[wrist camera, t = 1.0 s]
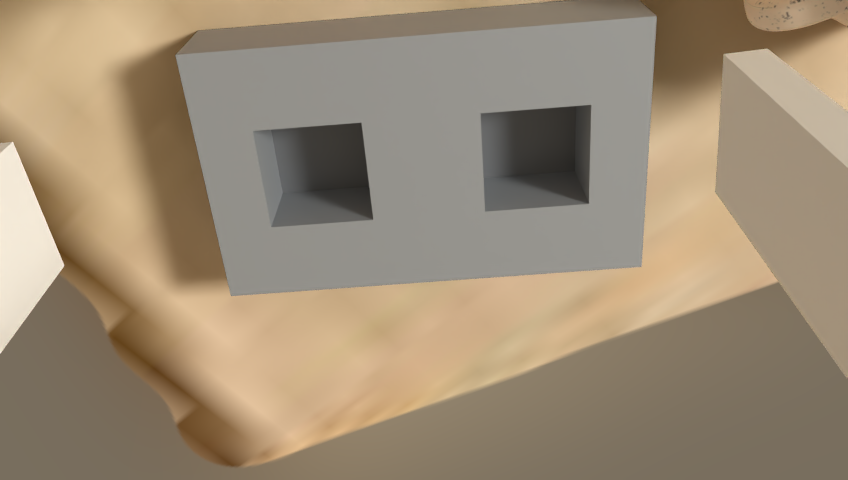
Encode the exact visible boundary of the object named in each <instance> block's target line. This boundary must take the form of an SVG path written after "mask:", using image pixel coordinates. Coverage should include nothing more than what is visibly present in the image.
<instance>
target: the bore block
mask: <svg viewBox="0 0 848 480" xmlns="http://www.w3.org/2000/svg"><path fill="white" fill-rule="evenodd" d="M656 22H657V16H656V15H655V14H654V13H653V12H652V11H651V10H650V9H648V8H647V7H646V6H645V5H644V4H643V3H642V2H641V1H640V0H568V1H556V2H543V3H531V4H519V5H506V6H494V7H482V8H470V9H457V10H445V11H433V12H420V13H408V14H396V15H384V16H371V17H359V18H347V19H334V20H322V21H310V22H298V23H285V24H273V25H261V26H248V27H236V28H224V29H212V30H199V31H197V32H196V33H195V34H194V35H193V37H192V38H191V39H190V40H189V41H188V42H187V43H186V44H185V45H184V46H183V47H182V48H181V49H180V50H179V51H178V53H177V54H176V55H175V56H176V60H177V65H178V69H179V73H180V78H181V82H182V86H183V91H184V95H185V99H186V103H187V108H188V112H189V116H190V121H191V125H192V129H193V134H194V138H195V142H196V147H197V151H198V155H199V160H200V164H201V168H202V173H203V177H204V181H205V186H206V190H207V194H208V199H209V203H210V207H211V212H212V216H213V220H214V225H215V229H216V233H217V238H218V242H219V246H220V251H221V255H222V259H223V264H224V268H225V272H226V277H227V281H228V285H229V289H230V294H231V296H239V295H253V294H267V293H281V292H295V291H309V290H323V289H337V288H351V287H365V286H379V285H393V284H407V283H421V282H435V281H449V280H463V279H477V278H491V277H505V276H519V275H533V274H547V273H561V272H575V271H589V270H603V269H617V268H631V267H641V266H642V250H643V234H644V217H645V201H646V185H647V168H648V152H649V136H650V120H651V103H652V87H653V71H654V55H655V38H656Z"/></svg>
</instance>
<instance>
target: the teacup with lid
mask: <svg viewBox="0 0 848 480" xmlns="http://www.w3.org/2000/svg"><path fill="white" fill-rule="evenodd" d="M744 8H745V12H746V16H747V18H748V20H749V22H750V23H751V24H752V25H753V26H755V27H756V28H758V29H761V30H765V31H787V30H794V29H799V28H803V27H807V26H810V25H814V24H817V23H820V22H822V21H825V20H828V19H830V18H832V19H834V20H836V21H838V22H840V23H841V24H843V25H845V26H847V27H848V0H744Z"/></svg>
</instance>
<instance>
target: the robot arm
mask: <svg viewBox="0 0 848 480" xmlns="http://www.w3.org/2000/svg"><path fill="white" fill-rule="evenodd" d="M715 192H716V194H717V195H718V197H719V198H720V199H721V201H722V202H723V204H724V205H725V207H726V208H727V209H728V211H729V212H730V214H731V215H732V216H733V218H734V219H735V221H736V222H737V223H738V225H739V226H740V228H741V229H742V231H743V232H744V233H745V235H746V236H747V238H748V239H749V240H750V242H751V243H752V245H753V246H754V248H755V249H756V250H757V252H758V253H759V255H760V256H761V257H762V259H763V260H764V262H765V263H766V264H767V266H768V267H769V269H770V270H771V272H772V273H773V274H774V276H775V277H776V279H777V280H778V281H779V283H780V284H781V286H782V287H783V288H784V290H785V291H786V293H787V294H788V295H789V297H790V298H791V300H792V301H793V303H794V304H795V305H796V307H797V308H798V310H799V311H800V313H801V314H802V315H803V317H804V318H805V320H806V321H807V322H808V324H809V325H810V327H811V328H812V330H813V331H814V332H815V334H816V335H817V337H818V338H819V339H820V341H821V342H822V344H823V345H824V347H825V348H826V349H827V351H828V352H829V354H830V355H831V356H832V358H833V359H834V361H835V362H836V363H837V365H838V366H839V368H840V369H841V371H842V372H843V373H844V375H845V376H846V378H847V379H848V111H846V110H845V109H844V108H843V107H841V106H840V105H839V104H838V103H836V102H835V101H834V100H832V99H831V98H830V97H829V96H827V95H826V94H825V93H823V92H822V91H821V90H820V89H818V88H817V87H816V86H815V85H813V84H812V83H811V82H809V81H808V80H807V79H806V78H804V77H803V76H802V75H801V74H799V73H798V72H797V71H795V70H794V69H793V68H792V67H790V66H789V65H788V64H787V63H785V62H784V61H783V60H781V59H780V58H779V57H778V56H776V55H775V54H774V53H773V52H771V51H770V50H769V49H760V50H752V51H744V52H736V53H727V54H724V55H723V72H722V89H721V105H720V122H719V139H718V155H717V172H716V189H715ZM63 267H64V264H63V261H62V259H61V257H60V254H59V252H58V249H57V247H56V245H55V242H54V240H53V237H52V235H51V232H50V230H49V228H48V225H47V223H46V220H45V218H44V216H43V213H42V211H41V208H40V206H39V204H38V201H37V199H36V196H35V194H34V192H33V189H32V187H31V184H30V182H29V179H28V177H27V175H26V172H25V170H24V167H23V165H22V163H21V160H20V158H19V155H18V153H17V151H16V148H15V146H14V143H13V142H7V143H0V353H1V352H2V350H3V349H4V347H5V346H6V345H7V343H8V342H9V341H10V339H11V338H12V337H13V335H14V334H15V333H16V331H17V330H18V328H19V327H20V326H21V324H22V323H23V321H24V320H25V319H26V318H27V316H28V315H29V313H30V312H31V311H32V309H33V308H34V307H35V305H36V304H37V302H38V301H39V300H40V298H41V297H42V296H43V294H44V293H45V292H46V290H47V289H48V287H49V286H50V285H51V283H52V282H53V281H54V279H55V278H56V276H57V275H58V274H59V272H60V271H61V270H62V268H63Z"/></svg>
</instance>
